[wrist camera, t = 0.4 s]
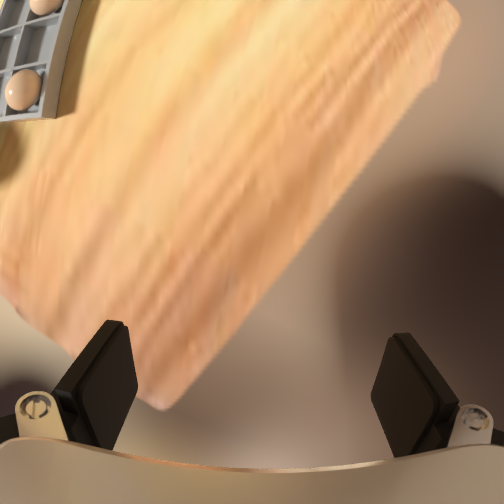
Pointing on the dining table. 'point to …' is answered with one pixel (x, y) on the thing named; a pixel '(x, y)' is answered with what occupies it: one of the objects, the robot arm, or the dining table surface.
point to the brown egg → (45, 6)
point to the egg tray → (34, 53)
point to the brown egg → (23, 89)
